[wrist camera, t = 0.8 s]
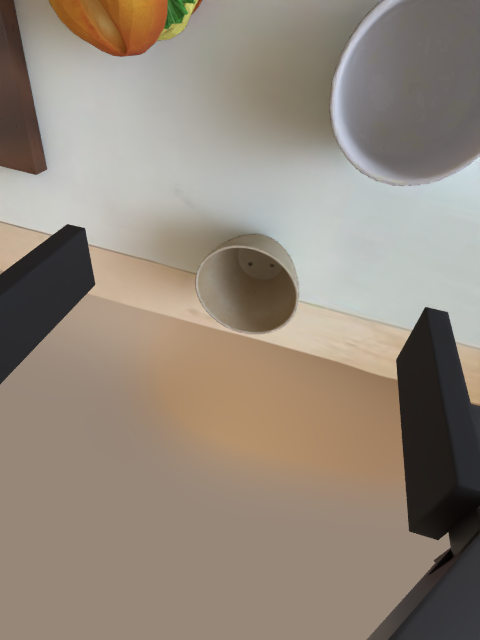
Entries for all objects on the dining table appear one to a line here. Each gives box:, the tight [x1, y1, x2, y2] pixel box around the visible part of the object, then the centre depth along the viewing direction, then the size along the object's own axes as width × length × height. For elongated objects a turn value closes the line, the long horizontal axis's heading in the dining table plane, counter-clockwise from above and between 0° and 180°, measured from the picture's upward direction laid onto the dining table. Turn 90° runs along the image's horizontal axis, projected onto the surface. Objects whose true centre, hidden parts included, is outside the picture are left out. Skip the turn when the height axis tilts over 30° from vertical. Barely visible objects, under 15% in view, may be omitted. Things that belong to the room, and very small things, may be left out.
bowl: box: [195, 234, 299, 334], centre depth 39 cm, size 10×10×7 cm
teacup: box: [329, 0, 480, 186], centre depth 25 cm, size 14×11×8 cm
